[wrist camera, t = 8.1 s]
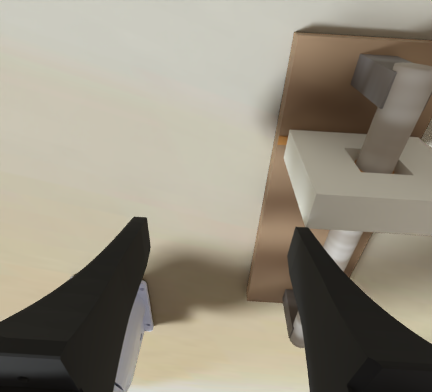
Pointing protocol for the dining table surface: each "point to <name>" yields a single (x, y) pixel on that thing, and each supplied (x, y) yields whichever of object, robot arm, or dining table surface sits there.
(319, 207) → the collar
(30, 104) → the dining table surface
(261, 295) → the slider rail
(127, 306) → the robot arm
